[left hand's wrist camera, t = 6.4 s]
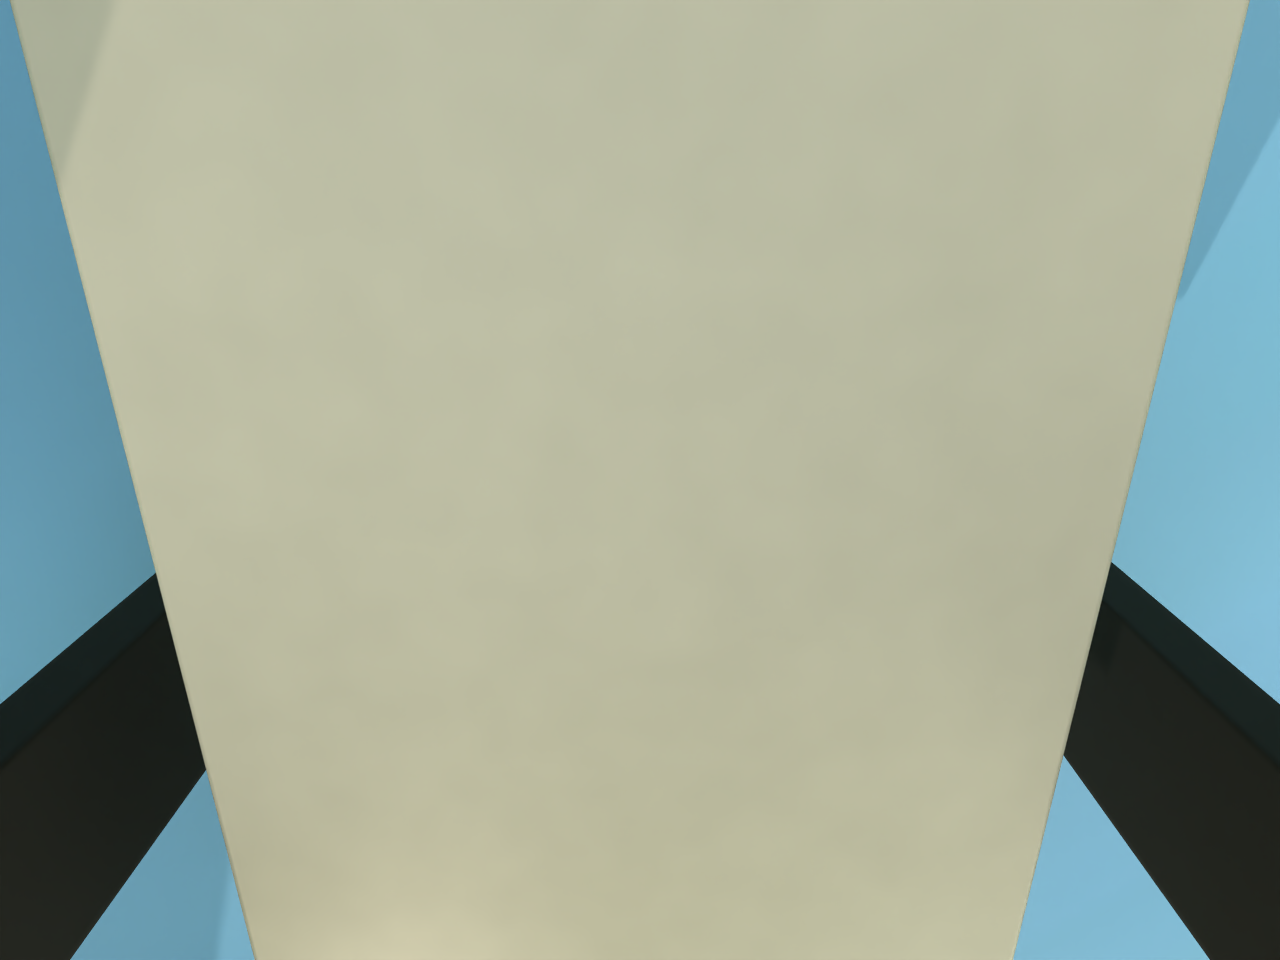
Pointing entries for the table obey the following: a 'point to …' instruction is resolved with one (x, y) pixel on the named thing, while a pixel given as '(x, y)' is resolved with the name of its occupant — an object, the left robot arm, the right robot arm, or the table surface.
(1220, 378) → the table surface
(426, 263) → the beige rectangular bar
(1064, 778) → the table surface
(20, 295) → the table surface
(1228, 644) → the table surface
